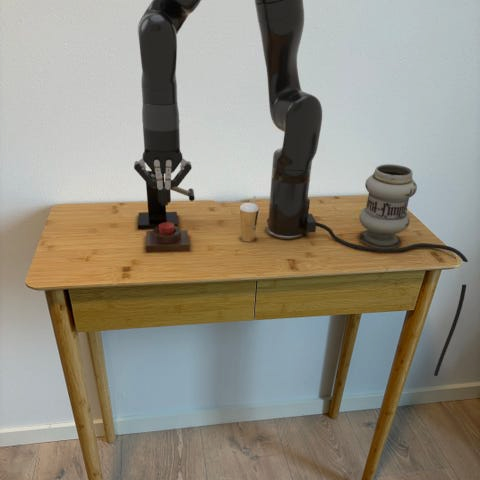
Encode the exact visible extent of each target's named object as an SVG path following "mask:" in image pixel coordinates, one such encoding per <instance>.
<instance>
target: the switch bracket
mask: <svg viewBox="0 0 480 480" xmlns="http://www.w3.org/2000/svg"><path fill="white" fill-rule="evenodd" d="M146 171H147V172H148V173H149V174H150V175H151V173H152V174H155V173H154V172H153V171H152V170H146ZM155 175H156V174H155ZM152 177H153V179H154V180H156V176H152ZM162 181H163V187H165V186H164V182H165V174H164V173H163V174H162ZM145 190H146V200H147V202H146V203H147V211H146V212H145V211H144V212H142V211H141V212H139V211H138V217H137V230H153V229H154V228H156V227H158V226H159V224H161V223H164V222H170V223H173V224H174V226H177V227H179V224H178V212H177V211H167V205H161V203H159V201H158V190H157V188H155V187H150V186H149V185H148V184H147V183H146V182H145ZM164 203H165V198H164Z"/></svg>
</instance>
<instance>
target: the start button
mask: <svg viewBox="0 0 480 480" xmlns="http://www.w3.org/2000/svg"><path fill="white" fill-rule="evenodd" d="M174 232H175V230H174V224H173V223H170V222H164V223H161V224H159V233H160V234H164V235H169V234H173V233H174Z"/></svg>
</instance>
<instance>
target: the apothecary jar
mask: <svg viewBox="0 0 480 480" xmlns="http://www.w3.org/2000/svg"><path fill="white" fill-rule="evenodd" d="M413 174H414V173H413V170H412V169H411V168H410V167H407V166H404V165H400V164H393V163H392V164H390V163H387V164H386V163H385V164H384V163H383V164H380V165H378V166H376V167H375V169H374V172H373V174H370V175H369V176H368V177H367V179H366V181H365V190H366V191H367V192H368V196H367V201H366V204H365V205H366V206H365V207H364V208H362V210H361V211H360V213H359V215H358V220H359V222H360V225H362V227H363V228H364V229H365V230H364V231H363V232H361V233H360V234H359V238H360V240H361V242H362V243H363V244H365V245H366V246H368V247H373V248H398V246H399V245H400V243H401V240H400V238H399V237H398V236H397V234H401V233H402V232H404V231H405V230H407V229H408V227H409V226H410V223H411V219H410V216H409V214H408V213H407V211H408V206H409V202H410V198H412V197H413V196H414V195H415V194H416V193H417V189H418V186H417V183H416V181H415V180H414V179H413Z"/></svg>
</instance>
